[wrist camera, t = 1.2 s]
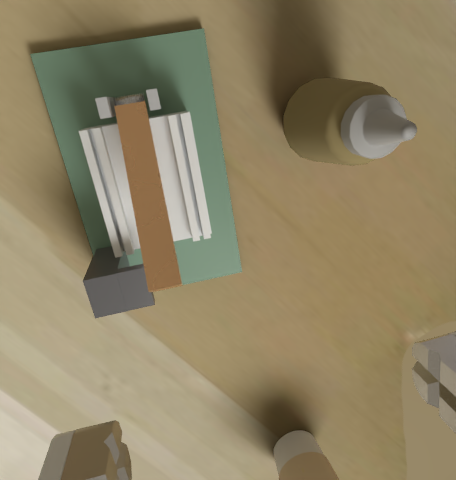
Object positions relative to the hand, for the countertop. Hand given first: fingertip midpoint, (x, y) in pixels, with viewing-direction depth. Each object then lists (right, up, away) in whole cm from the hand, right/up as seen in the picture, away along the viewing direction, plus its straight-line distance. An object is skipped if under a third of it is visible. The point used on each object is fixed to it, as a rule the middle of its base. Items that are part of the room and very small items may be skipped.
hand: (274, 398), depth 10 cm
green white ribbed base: (-10, +12, +30) cm, 34 cm away
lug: (-13, +2, +32) cm, 35 cm away
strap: (-8, +8, +22) cm, 25 cm away
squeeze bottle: (+8, +18, +32) cm, 37 cm away
